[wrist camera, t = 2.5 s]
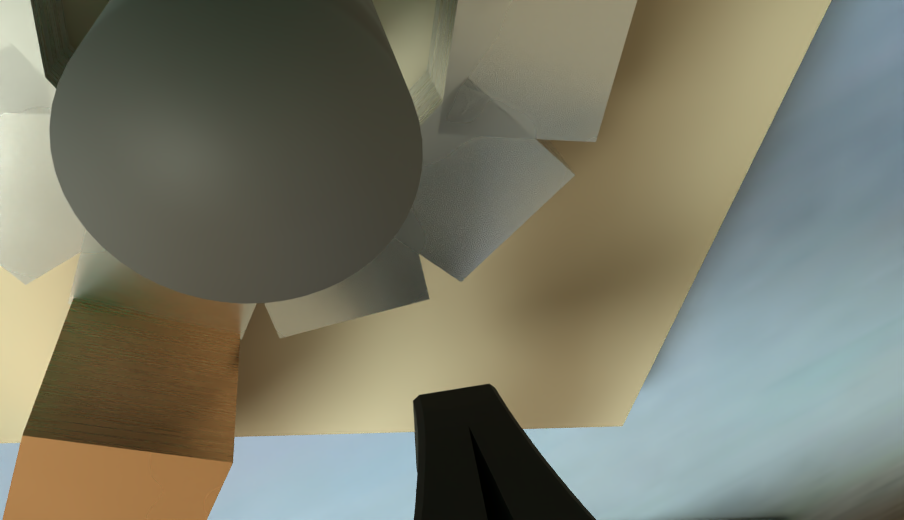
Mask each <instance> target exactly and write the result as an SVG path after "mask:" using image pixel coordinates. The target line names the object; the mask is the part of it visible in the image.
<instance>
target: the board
mask: <svg viewBox="0 0 904 520" xmlns="http://www.w3.org/2000/svg"><path fill="white" fill-rule="evenodd" d="M62 3H63V9H64V15H65V21H66V27H67V33H68V39H69V44H70V45H71V46H72V47H73V48H74V49H75V50H76V51H75V52H74V54H73V55H72V57H71V58H70V60H69V61H68V63H67V65H66V67H65V70H64V72H63V74H62V76H61V78H60V80H59V82H58V85H57V88H56V92H55V95H54V99H53V102H52V107H51V116H50V125H49V132H50V150H51V155H52V160H53V164H54V169H55V173H56V176H57V178H58V181H59V184H60V186H61V189H62V192H63V194H64V196H65V198H66V199H67V201H68V203H69V205H70V207H71V208H72V210H73V212H74V214H75V215H76V216H77V218H78V219H79V220H80V222H81V223H82V225H83V226H84V227H85V229H86V230H87V231H88V232H89V233H90V234H91V236H92V237H93V238H94V239H95V240H96V241H97V242H98V243H99V244H100V245H101V246H102V247H103V248H104V249H105V250H106V251H108V252H109V253H110V254H111V255H113V256H114V257H115V258H116V259H117V260H119V261H120V262H121V263H123V264H124V265H126V266H127V267H129V268H130V269H132V270H133V271H135V272H136V273H138V274H139V275H141V276H143V277H145V278H147V279H149V280H151V281H153V282H155V283H157V284H159V285H162V286H164V287H167V288H169V289H172V290H174V291H177V292H180V293H183V294H187V295H190V296H194V297H198V298H201V299H207V300H213V301H219V302H228V303H241V304H250V303H257V304H256V306H255V308H254V311H253V313H252V316H251V318H250V320H249V323H248V325H247V328H246V330H245V332H244V335H243V337H242V340H241V339H240V348H239V365H238V382H237V399H236V417H235V434H234V437H244V436H281V435H317V434H354V433H390V432H415V429H414V412H413V400H414V399H415V398H416V397H417V396H419V395H421V394H427V393H433V392H440V391H446V390H452V389H458V388H464V387H471V386H477V385H483V384H491V385H492V386H494V387H495V388H496V390H497V391H498V393H499V395H500V396H501V398H502V399H503V401H504V403H505V404H506V406H507V407H508V409H509V410H510V412H511V413H512V415H513V416H514V418H515V419H516V421H517V422H518V423H519V425H520V426H521V428H522V429H537V428H573V427H610V426H623V424H624V422H625V420H626V418H627V416H628V414H629V412H630V410H631V408H632V406H633V404H634V402H635V400H636V398H637V396H638V394H639V392H640V389H641V387H642V385H643V383H644V381H645V379H646V377H647V375H648V373H649V371H650V369H651V367H652V365H653V363H654V361H655V359H656V357H657V355H658V353H659V351H660V349H661V347H662V345H663V343H664V341H665V339H666V337H667V334H668V332H669V330H670V328H671V326H672V324H673V322H674V320H675V318H676V316H677V314H678V312H679V310H680V308H681V306H682V304H683V302H684V300H685V298H686V296H687V294H688V292H689V290H690V288H691V286H692V284H693V282H694V279H695V277H696V275H697V273H698V271H699V269H700V267H701V265H702V263H703V261H704V259H705V257H706V255H707V253H708V251H709V249H710V247H711V245H712V243H713V241H714V239H715V237H716V235H717V233H718V231H719V229H720V227H721V224H722V222H723V220H724V218H725V216H726V214H727V212H728V210H729V208H730V206H731V204H732V202H733V200H734V198H735V196H736V194H737V192H738V190H739V188H740V186H741V184H742V182H743V180H744V178H745V176H746V174H747V172H748V170H749V167H750V165H751V163H752V161H753V159H754V157H755V155H756V153H757V151H758V149H759V147H760V145H761V143H762V141H763V139H764V137H765V135H766V133H767V131H768V129H769V127H770V125H771V123H772V121H773V119H774V117H775V115H776V112H777V110H778V108H779V106H780V104H781V102H782V100H783V98H784V96H785V94H786V92H787V90H788V88H789V86H790V84H791V82H792V80H793V78H794V76H795V74H796V72H797V70H798V68H799V66H800V64H801V62H802V60H803V57H804V55H805V53H806V51H807V49H808V47H809V45H810V43H811V41H812V39H813V37H814V35H815V33H816V31H817V29H818V27H819V25H820V23H821V21H822V19H823V17H824V15H825V13H826V11H827V9H828V7H829V5H830V3H831V0H637V3H636V6H635V10H634V13H633V16H632V20H631V23H630V27H629V30H628V34H627V37H626V40H625V44H624V47H623V51H622V54H621V58H620V61H619V64H618V68H617V71H616V75H615V78H614V82H613V85H612V88H611V92H610V95H609V99H608V102H607V106H606V109H605V112H604V116H603V119H602V123H601V126H600V130H599V133H598V136H597V140H596V142H584V141H564V140H550V141H551V143H552V144H553V145H554V147H555V148H556V149H557V151H558V152H559V154H560V155H561V156H562V158H563V159H564V161H565V162H566V163H567V165H568V166H569V167H570V169H571V170H572V172H573V173H574V174H575V176H574V177H573V178H572V179H570V180H569V181H568V182H567V183H566V184H565V185H564V186H563V187H562V188H561V189H560V190H559V191H558V192H557V193H556V194H554V195H553V196H552V197H551V198H550V199H549V200H548V201H547V202H546V203H545V204H544V205H543V206H542V207H541V208H540V209H538V210H537V211H536V212H535V213H534V214H533V215H532V216H531V217H530V218H529V219H528V220H527V221H526V222H525V223H524V224H522V225H521V226H520V227H519V228H518V229H517V230H516V231H515V232H514V233H513V234H512V235H511V236H510V237H509V238H508V239H506V240H505V241H504V242H503V243H502V244H501V245H500V246H499V247H498V248H497V249H496V250H495V251H494V252H493V253H492V254H490V255H489V256H488V257H487V258H486V259H485V260H484V261H483V262H482V263H481V264H480V265H479V266H478V267H477V268H476V269H474V270H473V271H472V272H471V273H470V274H469V275H468V276H467V277H466V278H465V279H464V280H463V281H462V282H460V281H459V280H457V279H456V278H454V277H453V276H451V275H450V274H448V273H447V272H445V271H444V270H442V269H441V268H439V267H438V266H436V265H435V264H433V263H432V262H430V261H429V260H427V259H426V258H424V257H423V256H421V255H420V254H419V257H420V261H421V265H422V269H423V273H424V278H425V282H426V286H427V290H428V294H429V298H430V299H428V300H424V301H421V302H417V303H413V304H409V305H405V306H402V307H398V308H394V309H390V310H386V311H383V312H379V313H375V314H371V315H367V316H364V317H360V318H356V319H352V320H348V321H345V322H341V323H337V324H333V325H329V326H326V327H322V328H318V329H314V330H310V331H306V332H303V333H299V334H295V335H291V336H287V337H284V338H279V336H278V334H277V331H276V329H275V327H274V324H273V322H272V320H271V318H270V315H269V313H268V311H267V309H266V306H265V304H264V303H270V302H278V301H285V300H290V299H294V298H299V297H303V296H306V295H309V294H312V293H315V292H318V291H321V290H324V289H326V288H328V287H331V286H333V285H335V284H337V283H339V282H341V281H343V280H345V279H346V278H348V277H350V276H351V275H353V274H355V273H356V272H358V271H359V270H361V269H362V268H363V267H364V266H366V265H367V264H368V263H370V262H371V261H372V260H373V259H374V258H375V257H376V256H377V255H378V254H379V253H381V252H382V251H383V250H384V249H385V248H386V247H387V245H388V244H389V243H390V242H391V240H392V239H393V238H394V237H395V235H396V234H397V233H398V231H399V230H400V228H401V226H402V225H403V223H404V221H405V220H406V218H407V216H408V214H409V212H410V210H411V207H412V205H413V202H414V200H415V198H416V194H417V190H418V186H419V183H420V178H421V170H422V162H423V149H422V136H421V129H420V123H419V119H418V115H417V112H416V109H415V106H414V103H413V100H412V97H411V95H410V92H409V89H410V88H411V87H412V86H413V85H414V84H415V83H416V82H417V81H418V80H419V78H420V77H421V76H422V75H423V74H424V73H425V72H426V71H427V66H428V59H429V51H430V43H431V36H432V28H433V21H434V13H435V5H436V0H62ZM79 256H80V253H78V254H77V255H75V256H73V257H72V258H70V259H68V260H67V261H65V262H63V263H62V264H60V265H58V266H57V267H55V268H53V269H52V270H50V271H48V272H47V273H45V274H43V275H42V276H40V277H38V278H37V279H35V280H33V281H32V282H30V283H28V284H27V285H25V284H24V283H22V282H21V281H20V280H19V279H17V278H16V277H15V276H13V275H12V274H11V273H9V272H8V271H7V270H6V269H4V268H3V267H2V266H0V443H21V439H22V435H23V432H24V430H25V427H26V424H27V422H28V419H29V416H30V413H31V411H32V408H33V405H34V403H35V400H36V397H37V395H38V392H39V389H40V387H41V384H42V381H43V378H44V376H45V373H46V370H47V368H48V365H49V362H50V360H51V357H52V354H53V352H54V349H55V346H56V343H57V341H58V338H59V335H60V333H61V330H62V327H63V325H64V322H65V319H66V317H67V314H68V311H69V308H70V306H71V304H68V301H69V297H70V293H71V289H72V285H73V280H74V276H75V272H76V268H77V264H78V260H79Z"/></svg>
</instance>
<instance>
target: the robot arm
mask: <svg viewBox="0 0 904 520" xmlns="http://www.w3.org/2000/svg"><path fill="white" fill-rule="evenodd" d="M413 412H414V429H415V447H416V465H417V473H418V476H417V489H416V503H415V514H414V520H596V519H595V518H594V517H593V516H592V515H591V513H590V512H589V511H588V510H587V509H586V508H585V507H584V506H583V505H582V503H581V502H580V501H579V500H578V499H577V498H576V496H575V495H574V494H573V493H572V492H571V491H570V489H569V488H568V487H567V486H566V484H565V483H564V482H563V481H562V480H561V478H560V477H559V476H558V475H557V473H556V472H555V471H554V470H553V468H552V467H551V466H550V465H549V464H548V462H547V461H546V460H545V459H544V457H543V456H542V455H541V453H540V452H539V451H538V449H537V448H536V447H535V445H534V444H533V443H532V441H531V440H530V439H529V437H528V436H527V435H526V433H525V432H524V430H523V429H522V428H521V426H520V425H519V423H518V422H517V421H516V419H515V418H514V416H513V415H512V413H511V412H510V410H509V409H508V407H507V406H506V404H505V403H504V401H503V399H502V398H501V396H500V395H499V393H498V391H497V390H496V388H495V387H494V386H492V385H491V384H483V385H477V386H471V387H464V388H458V389H452V390H446V391H440V392H433V393H427V394H421V395H419V396H417V397H416V398H415V399H414V400H413Z"/></svg>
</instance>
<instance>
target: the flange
mask: <svg viewBox="0 0 904 520" xmlns="http://www.w3.org/2000/svg"><path fill="white" fill-rule="evenodd" d="M636 3H637V0H436V5H435V13H434V21H433V28H432V36H431V43H430V51H429V59H428V66H427V71H426V72H425V73H424V74H423V75H422V76H421V77H420V78H419V80H418V81H417V82H416V83H415V84H414V85H413V86H412V87H411V88H410V89H409V92H410V95H411V97H412V100H413V103H414V106H415V109H416V112H417V115H418V119H419V123H420V129H421V136H422V149H423V162H422V170H421V178H420V183H419V186H418V190H417V194H416V198H415V200H414V202H413V205H412V207H411V210H410V212H409V214H408V216H407V218H406V220H405V221H404V223H403V225H402V226H401V228H400V230H399V231H398V233H397V234H396V235H395V237H394V238H393V239H392V240H391V242H390V243H389V244H388V245H387V247H386V248H385V249H384V250H383V251H382V252H381V253H379V254H378V255H377V256H376V257H375V258H374V259H373V260H372V261H371V262H370V263H368V264H367V265H366V266H364V267H363V268H362V269H361V270H359V271H358V272H356V273H355V274H353V275H351V276H350V277H348V278H346V279H345V280H343V281H341V282H339V283H337V284H335V285H333V286H331V287H328V288H326V289H324V290H321V291H318V292H315V293H312V294H309V295H306V296H303V297H299V298H294V299H290V300H285V301H278V302H270V303H264V304H265V306H266V309H267V311H268V313H269V315H270V318H271V320H272V322H273V324H274V327H275V329H276V331H277V334H278V336H279V338H284V337H287V336H291V335H295V334H299V333H303V332H306V331H310V330H314V329H318V328H322V327H326V326H329V325H333V324H337V323H341V322H345V321H348V320H352V319H356V318H360V317H364V316H367V315H371V314H375V313H379V312H383V311H386V310H390V309H394V308H398V307H402V306H405V305H409V304H413V303H417V302H421V301H424V300H428V299H430V298H429V294H428V290H427V286H426V282H425V278H424V273H423V269H422V265H421V261H420V257H419V254H420V255H421V256H423V257H424V258H426V259H427V260H429V261H430V262H432V263H433V264H435V265H436V266H438V267H439V268H441V269H442V270H444V271H445V272H447V273H448V274H450V275H451V276H453V277H454V278H456V279H457V280H459V281H460V282H462V281H463V280H464V279H465V278H466V277H467V276H468V275H469V274H470V273H471V272H472V271H473V270H474V269H476V268H477V267H478V266H479V265H480V264H481V263H482V262H483V261H484V260H485V259H486V258H487V257H488V256H489V255H490V254H492V253H493V252H494V251H495V250H496V249H497V248H498V247H499V246H500V245H501V244H502V243H503V242H504V241H505V240H506V239H508V238H509V237H510V236H511V235H512V234H513V233H514V232H515V231H516V230H517V229H518V228H519V227H520V226H521V225H522V224H524V223H525V222H526V221H527V220H528V219H529V218H530V217H531V216H532V215H533V214H534V213H535V212H536V211H537V210H538V209H540V208H541V207H542V206H543V205H544V204H545V203H546V202H547V201H548V200H549V199H550V198H551V197H552V196H553V195H554V194H556V193H557V192H558V191H559V190H560V189H561V188H562V187H563V186H564V185H565V184H566V183H567V182H568V181H569V180H570V179H572V178H573V177H574V176H575V174H574V173H573V172H572V170H571V169H570V167H569V166H568V165H567V163H566V162H565V161H564V159H563V158H562V156H561V155H560V154H559V152H558V151H557V149H556V148H555V147H554V145H553V144H552V143H551V141H550V140H564V141H584V142H596V140H597V136H598V133H599V130H600V126H601V123H602V119H603V116H604V112H605V109H606V106H607V102H608V99H609V95H610V92H611V88H612V85H613V82H614V78H615V75H616V71H617V68H618V64H619V61H620V58H621V54H622V51H623V47H624V44H625V40H626V37H627V34H628V30H629V27H630V23H631V20H632V16H633V13H634V10H635V6H636ZM75 51H76V50H75V49H74V48H73V47H72V46H71V45H70V44H69V39H68V33H67V27H66V21H65V15H64V9H63V3H62V0H0V266H2V267H3V268H4V269H6V270H7V271H8V272H9V273H11V274H12V275H13V276H15V277H16V278H17V279H19V280H20V281H21V282H22V283H24V284H25V285H27V284H28V283H30V282H32V281H33V280H35V279H37V278H38V277H40V276H42V275H43V274H45V273H47V272H48V271H50V270H52V269H53V268H55V267H57V266H58V265H60V264H62V263H63V262H65V261H67V260H68V259H70V258H72V257H73V256H75V255H77V254H78V253H80V256H79V260H78V264H77V268H76V272H75V276H74V280H73V285H72V289H71V293H70V297H69V301H68V304H71V306H70V308H69V311H68V314H67V317H66V319H65V322H64V325H63V327H62V330H61V333H60V335H59V338H58V341H57V343H56V346H55V349H54V352H53V354H52V357H51V360H50V362H49V365H48V368H47V370H46V373H45V376H44V378H43V381H42V384H41V387H40V389H39V392H38V395H37V397H36V400H35V403H34V405H33V408H32V411H31V413H30V416H29V419H28V422H27V424H26V427H25V430H24V432H23V435H22V439H21V443H20V447H19V452H18V456H17V460H16V465H15V469H14V473H13V477H12V482H11V486H10V490H9V494H8V499H7V503H6V507H5V511H4V516H3V520H207V518H208V516H209V514H210V511H211V509H212V507H213V505H214V503H215V500H216V498H217V496H218V494H219V492H220V490H221V487H222V485H223V483H224V481H225V479H226V477H227V474H228V472H229V470H230V468H231V466H232V463H233V451H234V434H235V417H236V399H237V382H238V365H239V348H240V339H241V340H242V337H243V335H244V332H245V330H246V328H247V325H248V323H249V320H250V318H251V316H252V313H253V311H254V308H255V306H256V304H257V303H250V304H241V303H228V302H219V301H213V300H207V299H201V298H198V297H194V296H190V295H187V294H183V293H180V292H177V291H174V290H172V289H169V288H167V287H164V286H162V285H159V284H157V283H155V282H153V281H151V280H149V279H147V278H145V277H143V276H141V275H139V274H138V273H136V272H135V271H133V270H132V269H130V268H129V267H127V266H126V265H124V264H123V263H121V262H120V261H119V260H117V259H116V258H115V257H114V256H113V255H111V254H110V253H109V252H108V251H106V250H105V249H104V248H103V247H102V246H101V245H100V244H99V243H98V242H97V241H96V240H95V239H94V238H93V237H92V236H91V234H90V233H89V232H88V231H87V230H86V229H85V227H84V226H83V225H82V223H81V222H80V220H79V219H78V218H77V216H76V215H75V214H74V212H73V210H72V208H71V207H70V205H69V203H68V201H67V199H66V198H65V196H64V194H63V192H62V189H61V186H60V184H59V181H58V178H57V176H56V173H55V169H54V164H53V160H52V155H51V150H50V132H49V125H50V116H51V107H52V102H53V99H54V95H55V92H56V88H57V85H58V82H59V80H60V78H61V76H62V74H63V72H64V70H65V67H66V65H67V63H68V61H69V60H70V58H71V57H72V55H73V54H74V52H75Z"/></svg>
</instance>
